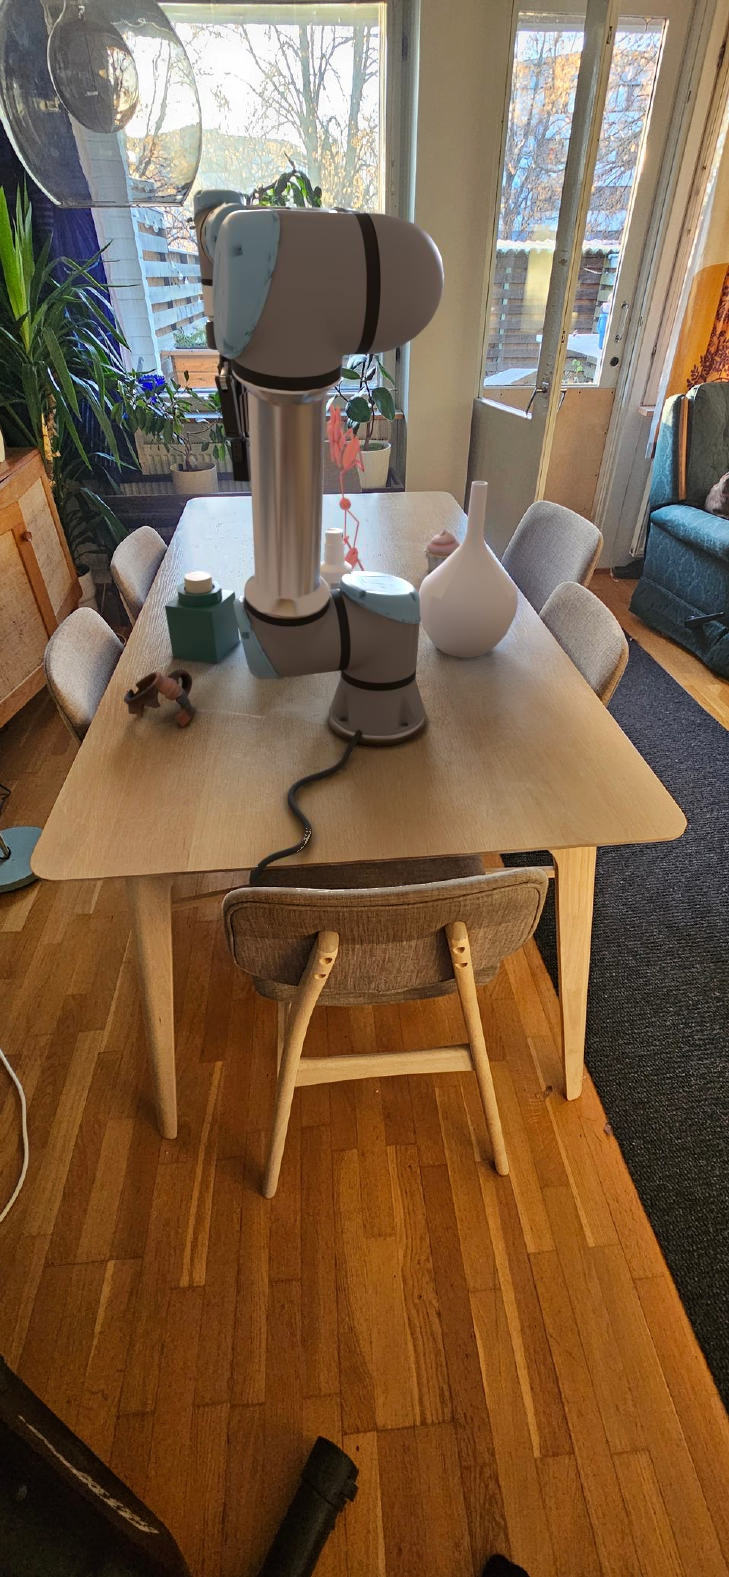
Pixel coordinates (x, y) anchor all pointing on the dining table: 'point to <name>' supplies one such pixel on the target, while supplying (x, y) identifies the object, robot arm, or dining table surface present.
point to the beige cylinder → (198, 582)
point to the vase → (468, 592)
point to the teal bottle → (202, 624)
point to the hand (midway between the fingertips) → (242, 480)
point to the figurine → (349, 456)
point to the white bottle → (334, 558)
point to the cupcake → (440, 549)
